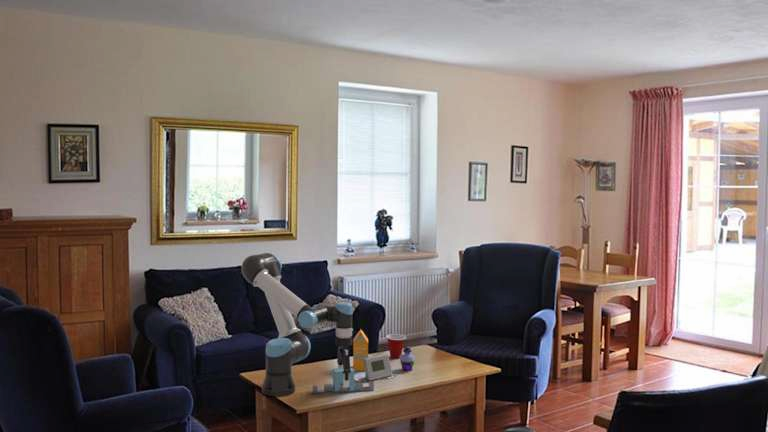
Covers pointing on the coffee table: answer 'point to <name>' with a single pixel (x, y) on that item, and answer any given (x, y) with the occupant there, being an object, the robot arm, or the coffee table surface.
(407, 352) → the potion bottle
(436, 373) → the coffee table surface
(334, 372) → the block
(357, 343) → the orange juice
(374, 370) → the digital clock
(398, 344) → the plastic cup
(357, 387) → the rail
